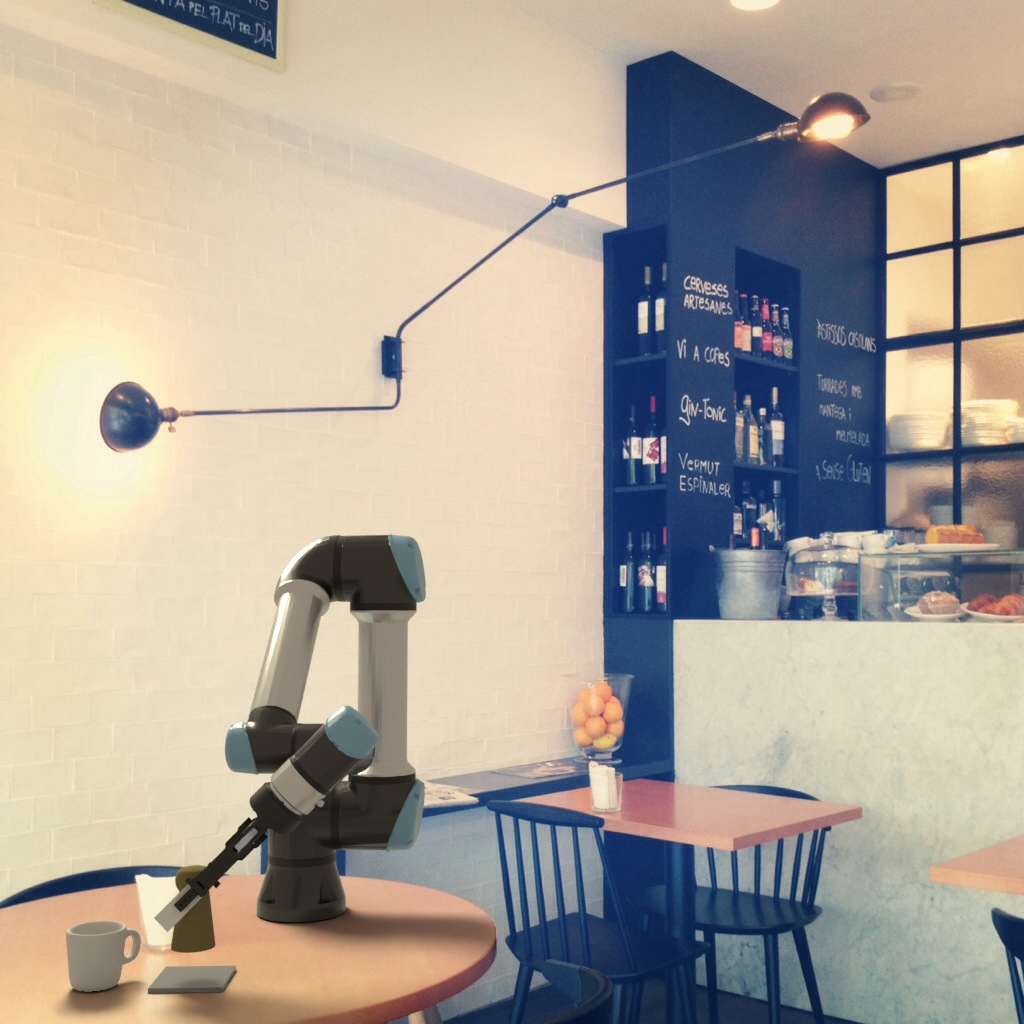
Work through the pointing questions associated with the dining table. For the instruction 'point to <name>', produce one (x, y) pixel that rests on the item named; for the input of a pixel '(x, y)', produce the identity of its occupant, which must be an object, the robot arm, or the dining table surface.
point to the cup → (98, 954)
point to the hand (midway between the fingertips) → (166, 918)
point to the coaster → (192, 979)
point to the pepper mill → (193, 919)
